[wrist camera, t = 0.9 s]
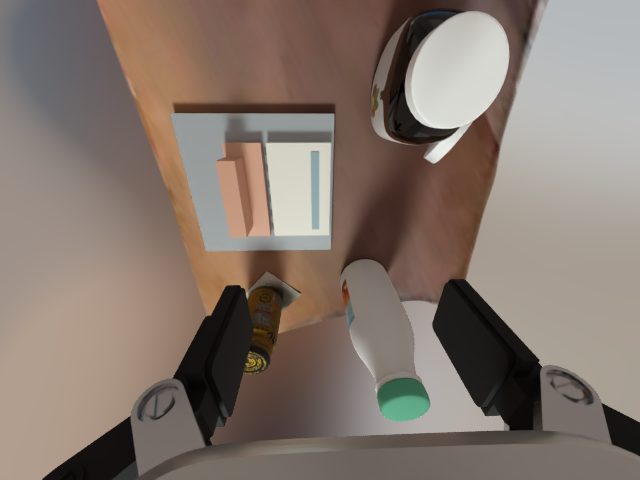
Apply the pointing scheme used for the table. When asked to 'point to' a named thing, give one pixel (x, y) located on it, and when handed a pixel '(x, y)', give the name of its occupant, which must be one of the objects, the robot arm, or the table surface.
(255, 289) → the condiment
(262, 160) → the stub
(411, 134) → the spread jar
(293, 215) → the board
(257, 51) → the table surface
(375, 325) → the milk bottle
